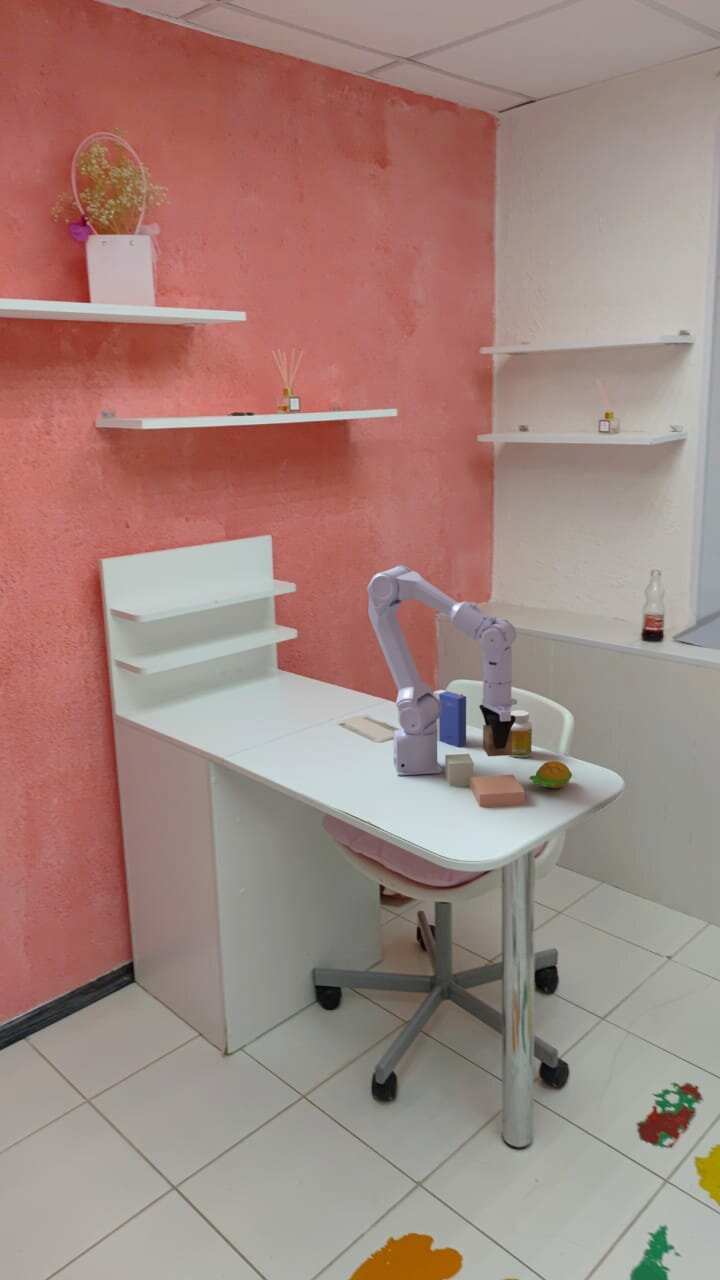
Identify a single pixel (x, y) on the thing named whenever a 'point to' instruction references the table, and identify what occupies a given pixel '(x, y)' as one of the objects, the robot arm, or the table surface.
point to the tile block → (497, 790)
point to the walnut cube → (489, 744)
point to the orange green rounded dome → (552, 775)
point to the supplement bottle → (521, 734)
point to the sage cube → (458, 769)
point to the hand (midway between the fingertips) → (496, 743)
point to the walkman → (451, 718)
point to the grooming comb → (369, 728)
